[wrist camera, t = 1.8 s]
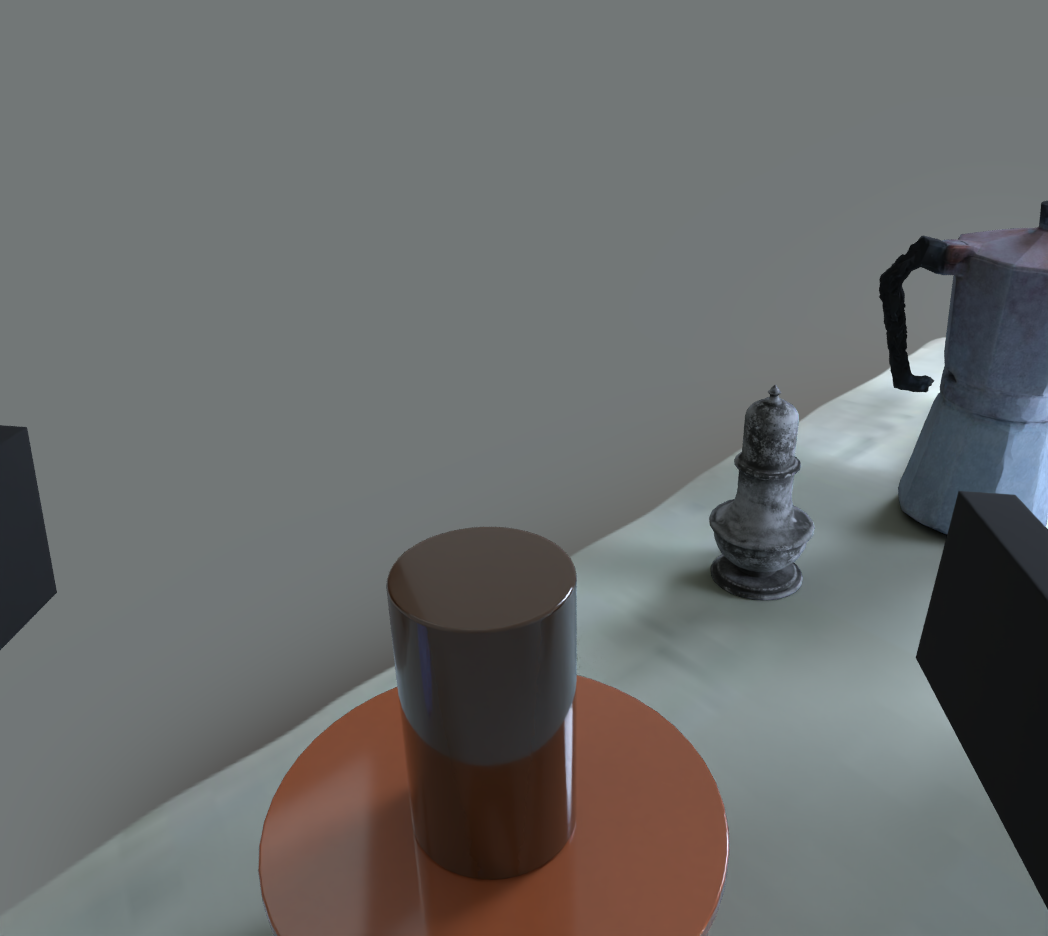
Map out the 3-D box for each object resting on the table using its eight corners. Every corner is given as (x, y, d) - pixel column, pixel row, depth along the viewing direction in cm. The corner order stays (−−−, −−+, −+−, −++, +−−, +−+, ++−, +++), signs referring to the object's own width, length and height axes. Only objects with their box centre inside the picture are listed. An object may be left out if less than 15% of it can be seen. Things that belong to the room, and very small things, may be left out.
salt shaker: (685, 565, 57) (696, 379, 52) (759, 538, 60) (777, 358, 54) (752, 614, 53) (772, 416, 47) (829, 582, 55) (857, 390, 50)
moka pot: (1126, 544, 58) (1227, 212, 49) (882, 564, 57) (940, 227, 48) (1035, 473, 67) (1107, 179, 58) (821, 489, 65) (861, 190, 56)
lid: (683, 683, 37) (698, 448, 33) (781, 1058, 24) (830, 757, 20) (309, 696, 37) (271, 462, 33) (207, 1080, 24) (119, 782, 20)
